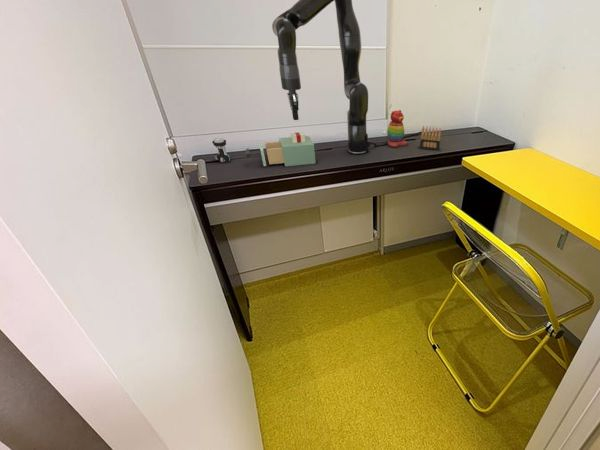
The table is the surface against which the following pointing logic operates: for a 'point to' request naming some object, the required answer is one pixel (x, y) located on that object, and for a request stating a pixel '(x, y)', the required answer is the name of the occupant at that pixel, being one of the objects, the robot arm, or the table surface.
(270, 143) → the drawer
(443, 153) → the table surface
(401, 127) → the stacking bear
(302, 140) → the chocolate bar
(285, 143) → the cabinet
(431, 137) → the ammunition clip
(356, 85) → the robot arm
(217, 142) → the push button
